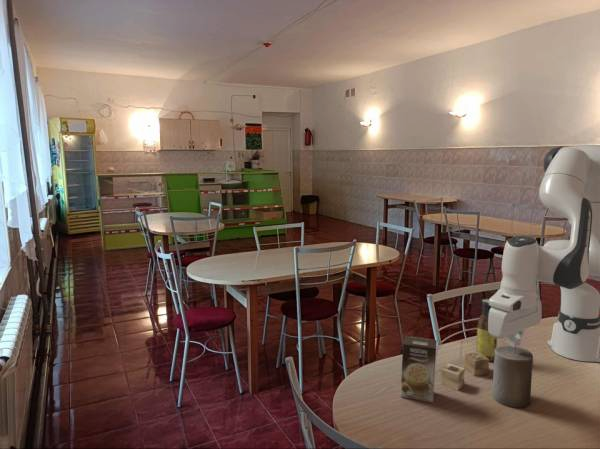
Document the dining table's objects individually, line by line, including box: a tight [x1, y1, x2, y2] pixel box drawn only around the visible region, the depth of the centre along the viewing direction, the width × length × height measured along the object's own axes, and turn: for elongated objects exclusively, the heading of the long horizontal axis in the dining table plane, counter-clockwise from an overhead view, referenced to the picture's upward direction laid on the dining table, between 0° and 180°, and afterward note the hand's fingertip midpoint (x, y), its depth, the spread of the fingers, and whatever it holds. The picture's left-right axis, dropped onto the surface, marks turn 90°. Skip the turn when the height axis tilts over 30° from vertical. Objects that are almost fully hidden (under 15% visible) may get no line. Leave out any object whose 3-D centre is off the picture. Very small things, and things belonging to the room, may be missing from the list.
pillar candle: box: [492, 344, 534, 409], centre depth 121 cm, size 10×10×15 cm
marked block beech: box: [440, 363, 466, 392], centre depth 130 cm, size 5×5×5 cm
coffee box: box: [399, 334, 437, 403], centre depth 124 cm, size 9×6×16 cm
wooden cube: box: [464, 352, 490, 377], centre depth 138 cm, size 5×5×5 cm
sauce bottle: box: [475, 298, 498, 362], centre depth 146 cm, size 6×6×20 cm
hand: (514, 345), depth 120 cm, fingers closed
